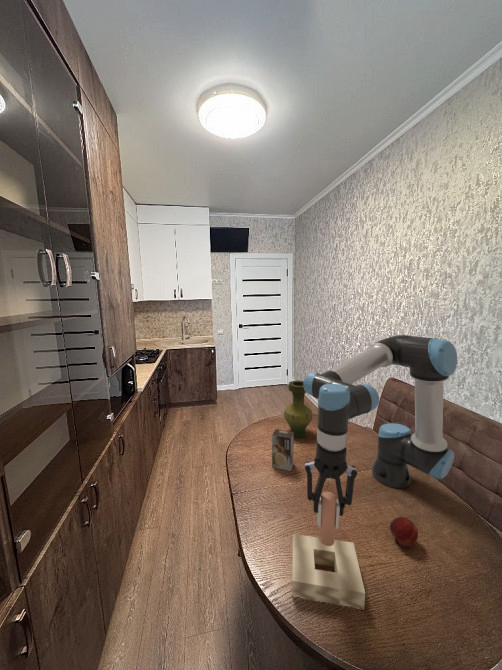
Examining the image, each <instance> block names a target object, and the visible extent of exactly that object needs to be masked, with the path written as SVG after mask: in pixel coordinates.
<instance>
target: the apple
mask: <svg viewBox="0 0 502 670" xmlns="http://www.w3.org/2000/svg"><path fill="white" fill-rule="evenodd" d="M389 529H390V532H391V533H392V535H393V537H394V539H396V541H397V542H398V544H399V545H401V546H403V547H412V546H414V544H416V542H417V540H418V538H419V531H418V529H417V526H416V525H415V524H414V522H413V521H412V520H411V519H409V518H407V517H405V516H399V517H395V518H394V519H393V520H392V521H391V522H390V525H389Z"/></svg>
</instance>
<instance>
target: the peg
mask: <svg viewBox="0 0 502 670" xmlns="http://www.w3.org/2000/svg"><path fill="white" fill-rule="evenodd" d="M320 497H321V504H322V507H321V526H319V531H318V532H319V534H318V535H319V536H318V538H319V539H320V542H321V543H322V544H324V545H325V546H332V545H333V544H334V540H335V532H336V528H335V518H336V500H337V499H338V497H337V496H336V495H335V494H334V493H333V492H331V491H322V493H321V496H320Z"/></svg>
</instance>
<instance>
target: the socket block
mask: <svg viewBox="0 0 502 670" xmlns="http://www.w3.org/2000/svg"><path fill="white" fill-rule="evenodd" d="M355 548H356V547H355V543H354V542H351V541H345V540H337V539H334V544H333V545H332V546H325V545H324V544H322V543H321V542H320V539H319V536H317V537H316V536H310V535H301V534H296V533H293V534H292V554H291V555H292V556H291V557H292V559H291V560H292V565H291V567H292V569H291V570H292V573H291V577H292V579H291V597H292V596H295V597H300V598H304V599H303V600H305V599H308V600H307V601H311V600H312V602H317V601H318V603H322V602H326V603H325V604H328V603H330V604H329V605H333V604H335V606H339V605H343V606H342V607H344V606H352V607H359V608H364V609H365V603H366V591H365V590H366V589H365V586H364V582H363V578H362V573H361V570H360V565H359V561H358V556H357V553H356V549H355ZM316 565H319V566H326V567H333V570H334V571H329V570H328V571H327V570H323V569H316ZM300 598H299V599H300ZM319 601H320V602H319Z"/></svg>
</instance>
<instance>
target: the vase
mask: <svg viewBox="0 0 502 670" xmlns="http://www.w3.org/2000/svg"><path fill="white" fill-rule="evenodd" d="M303 383H304V380H292V381H289V382H288V391H290V392H291V393H292V394H291V395H292V403H291V404H289V405H288V406H286V407H285V408H284V412H283V418H284V419H285V421H286V423H287V424H288V426H289V428H290V430H289V431H290V432H294V439H304V438H305V437H306V436H307V433H306V429H307V428H308V426H309V425H310V423H311V422H312V420H313V410H312V409H311V408H310V407H309V406H307V405H306V404H305V394H307V393H306V392H305V390H304V385H303Z"/></svg>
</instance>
